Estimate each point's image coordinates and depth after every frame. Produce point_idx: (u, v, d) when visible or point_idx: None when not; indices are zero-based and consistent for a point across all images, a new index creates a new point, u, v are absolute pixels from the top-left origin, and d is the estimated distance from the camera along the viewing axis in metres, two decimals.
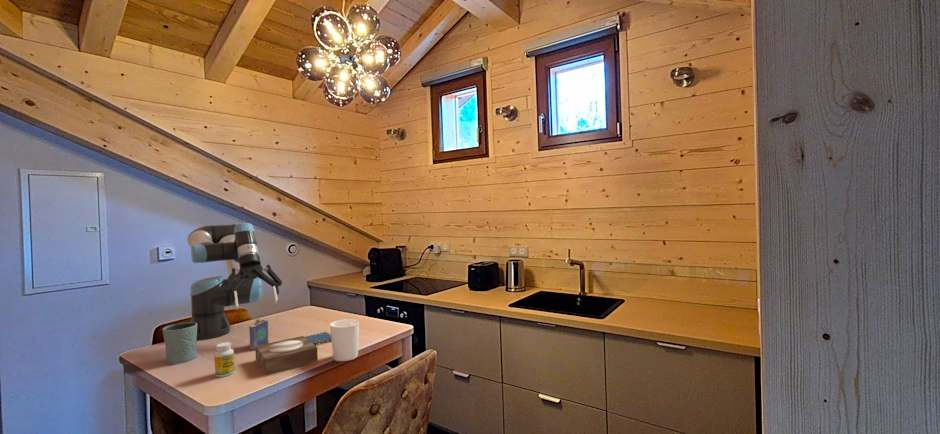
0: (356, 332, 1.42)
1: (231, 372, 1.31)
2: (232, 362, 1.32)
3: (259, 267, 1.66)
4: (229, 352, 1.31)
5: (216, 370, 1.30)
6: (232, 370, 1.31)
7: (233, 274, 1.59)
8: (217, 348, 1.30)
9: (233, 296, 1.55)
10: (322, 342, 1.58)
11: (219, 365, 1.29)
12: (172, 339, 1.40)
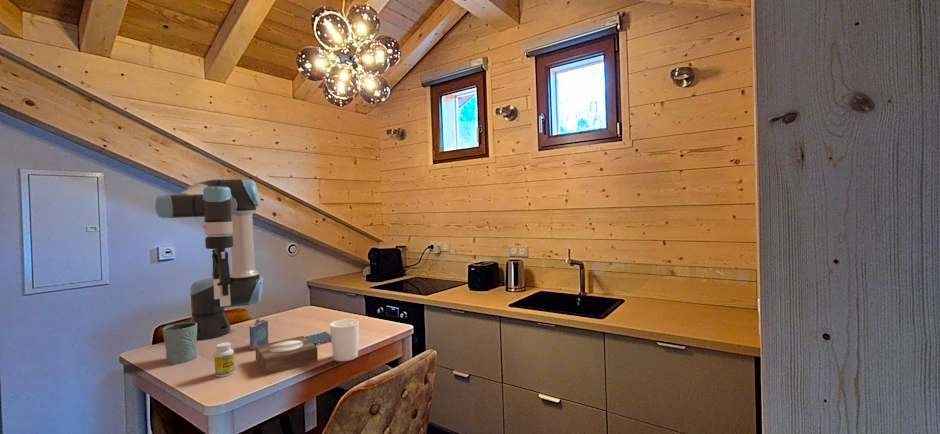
0: (356, 332, 1.42)
1: (231, 372, 1.31)
2: (232, 362, 1.32)
3: (217, 254, 1.28)
4: (229, 352, 1.31)
5: (216, 370, 1.30)
6: (232, 370, 1.31)
7: None
8: (217, 348, 1.30)
9: None
10: (322, 342, 1.58)
11: (219, 365, 1.29)
12: (172, 339, 1.40)
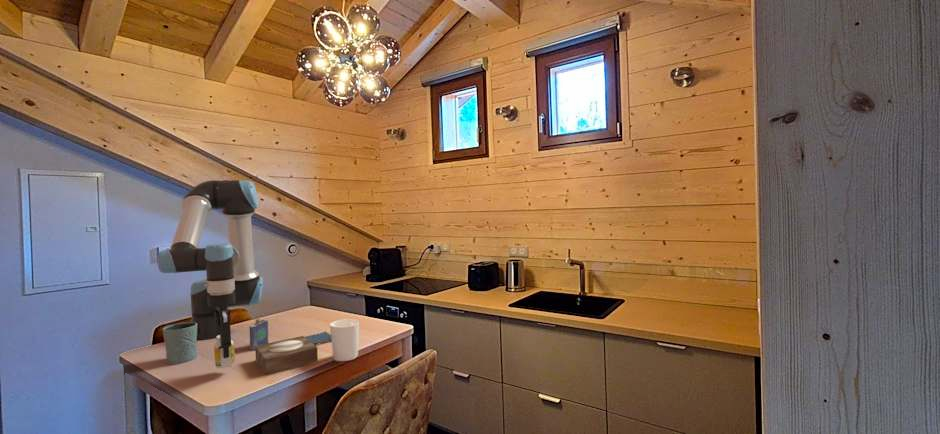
0: (356, 332, 1.42)
1: (231, 363, 1.31)
2: (232, 353, 1.32)
3: (219, 312, 1.28)
4: None
5: (216, 361, 1.30)
6: (232, 361, 1.32)
7: None
8: (216, 340, 1.30)
9: None
10: (322, 342, 1.58)
11: (219, 356, 1.29)
12: (172, 339, 1.40)
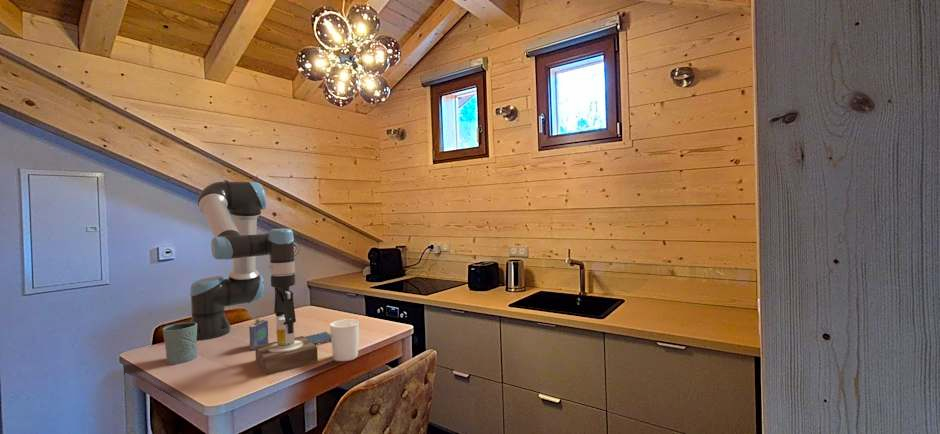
0: (356, 332, 1.42)
1: (292, 344, 1.40)
2: None
3: (282, 292, 1.37)
4: None
5: (278, 342, 1.39)
6: (292, 342, 1.41)
7: (275, 295, 1.45)
8: (279, 322, 1.39)
9: None
10: (322, 342, 1.58)
11: (282, 337, 1.38)
12: (172, 339, 1.40)
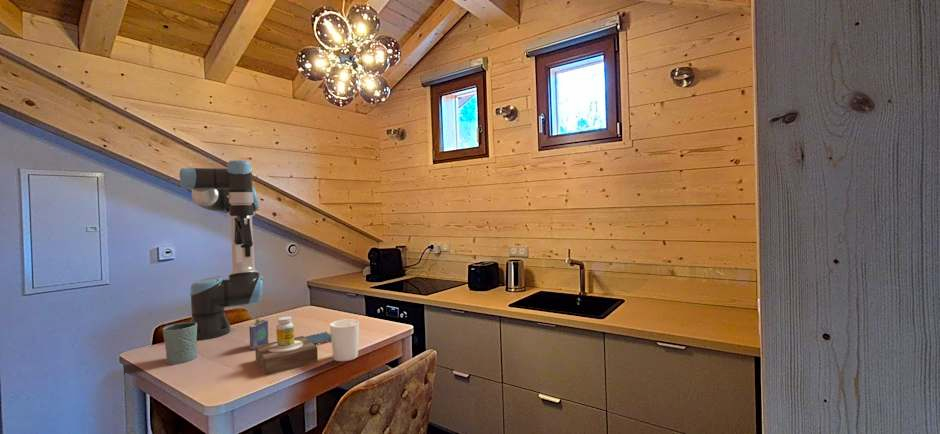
0: (356, 332, 1.42)
1: (292, 344, 1.40)
2: (292, 335, 1.41)
3: (240, 220, 1.44)
4: (290, 325, 1.40)
5: (278, 342, 1.39)
6: (292, 342, 1.41)
7: None
8: (279, 322, 1.39)
9: None
10: (322, 342, 1.58)
11: (282, 337, 1.38)
12: (172, 339, 1.40)
